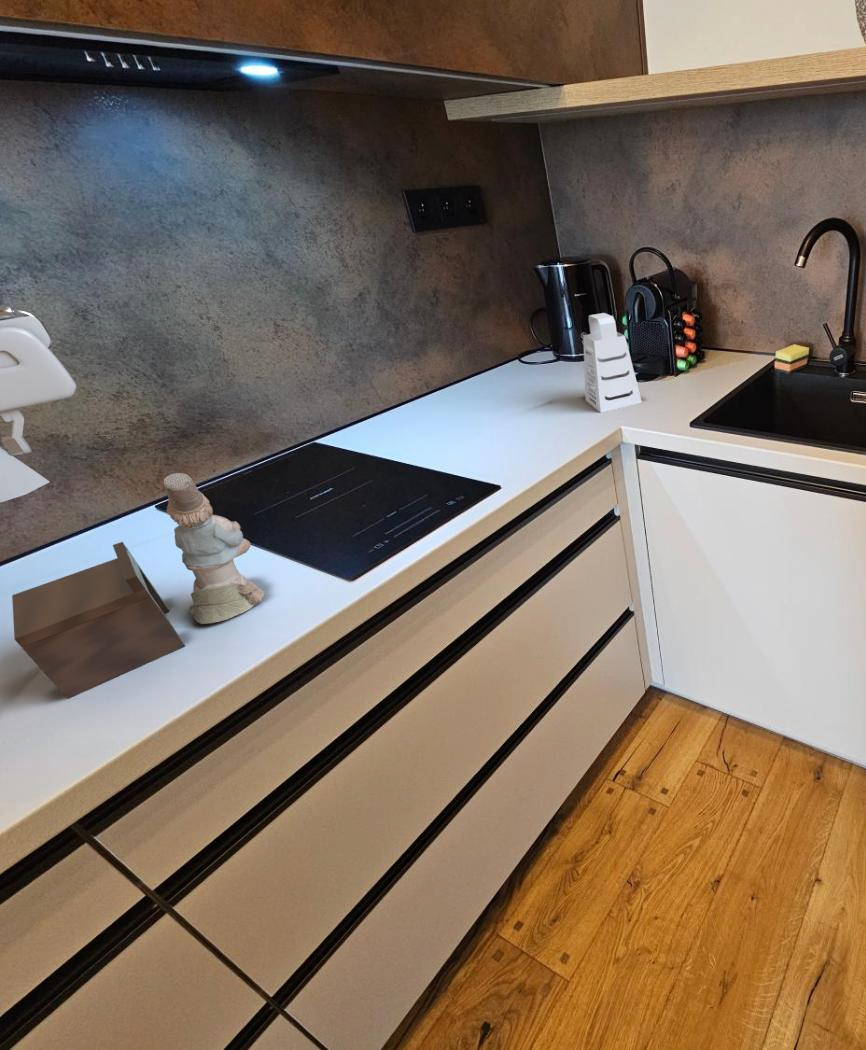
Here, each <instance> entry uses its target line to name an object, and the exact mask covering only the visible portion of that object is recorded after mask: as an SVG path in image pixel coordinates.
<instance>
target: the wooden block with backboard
mask: <svg viewBox="0 0 866 1050" xmlns="http://www.w3.org/2000/svg"><path fill="white" fill-rule="evenodd" d="M112 548H113V550H114V553H115V555H116V558H114V559H113V558H112V559H110V560H108V561H105V562H103V563H99V564H97V565H94V566H91V567H88V568H86V569H82V570H79V571H76V572H75V573H71V574H68V575H65V576H63V577H59V578H56V579H54V580H52V581H48V582H45V583H42V584H39V585H37V586H33V587H32V588H28V589H25V590H23V591H20V592H17V593H15V594H12V595H11V599H12V600H11V601H12V618H13V621H12V622H13V632H14V633H13V637H14V641H15V642H16V643H17V644H18V645H19V646H20V647H21V648H22V650H23V651H24V652H25V653H26V655H28V657H29V658H30V659H31V660H32V661H33V662H34V663H35V664H36V666H37V667H38V668H39V669H40V670H41V671H42V673H44V674H45V676H46V677H47V678H48V679H49V680H50V681H51V682H52V683H53V684H54V685H55V687H56V688H57V689H58V690H59V691H60V693H62V694H63V696H64V697H65V698H66V699H68V700H69V699H71V698H73V697H75V696H77V695H80V694H82V693H84V692H86V691H89V690H90V689H93V688H95V687H98V686H100V685H102V684H105V683H106V682H108V681H111V680H113V679H116V678H118V677H120V676H122V675H124V674H127V673H129V672H131V671H134V670H135V669H139V668H140V667H142V666H145V665H147V664H149V663H151V662H153V661H155V660H157V659H158V660H159V659H160V658H162V657H164V656H167V655H169V654H171V653H173V652H176V651H178V650H180V649H183V648H185V647H186V644H185V641H183V639H182V637H181V636H180V635H179V633H178V632H177V630H176V628H175V627H174V626H173V624H172V623H171V621H170V620H169V619H168V617H167V615H165V614H166V613H168V612H170V608H169V607H168V606H167V604H166V602H165V600H163V598H162V596H161V595H160V594H159V593H158V591H157V589H156V588H155V586H154V585H153V583H152V582H151V581H150V580H149V578H148V576H147V575H146V573H145V572H144V571H143V569H142V567H141V566H140V564H139V563H138V561H136V559H135V557H134V556H133V554H132V553H131V552H130V550H129V549H128V547H127V546H126V544H125V543H124V541H121V542H117V543H115V544H112Z"/></svg>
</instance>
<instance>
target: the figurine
mask: <svg viewBox="0 0 866 1050" xmlns="http://www.w3.org/2000/svg"><path fill="white" fill-rule="evenodd" d="M162 483H163V488H164V491H165V494H166V495H167V498H168V501H167V506H166V514H167V515H169V517H170V518H171V520H172V521H174V523H176V524H177V526H176V527H174V529H173V531H174V543H175V546H176V547H177V548H178V549H180V550H181V551H182V553H181V563H183V564H184V566H185V568H186V569H187V570H188V571H192V574H193V575H194V577H195V579H194V581H193V587H192V588H193V590H192V592H191V593H190V596H191V599H192V603H193V604H191V605H189V606H188V609H189V612H190V613H191V614H193V618H194V620H195V621H196V622H197V623H199V624H201V625H207V624H215V623H220V622H222V621H227V620H229V619H231V618H232V619H233V617H236V616H238V615H241V614H243V613H245V612H247V611H249V610H251V609H252V608H253V607H254V606H256V605H258V603H260V602H262V601H263V598H264V596H265V594H266V592H265V590H263V589H262V588H259V586H258V585H257V584H255V583H254V582H252V581H251V580H249V579H247V578H246V576H245V575H244V574H242V573H240V571H239V569H237V566H236V564H235V561H234V559H235V558H238V557H240V556H242V555H244V554H246V553H247V552H248V551H249V550H250V548H251V546H252V545H251V542H250V541H249V540H248V539H246V538H244V535H243V531H241V525H240V524H239V523H238V522H237V521H235V520H234V521H231V520H229V519H228V518H226V517H224V516H221V515H217V514H213V513H214V511H213V507H212V506H211V504H210V500H209V499H208V498H207V497H206V496H205V495H204V493H202V492H201V491H200V490H199V489H198V487H197V486H196V483H195V482H194V480H193V479H192V478H191V477H190V476H189V475H188V474H186V473H183V472H175V473H171V474H169V475H166V477H165V478H164V479H163V482H162Z"/></svg>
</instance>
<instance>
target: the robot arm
mask: <svg viewBox="0 0 866 1050" xmlns="http://www.w3.org/2000/svg"><path fill="white" fill-rule="evenodd" d="M16 315H20V316H17V317H16ZM52 342H53V341H52V337H51V334H50V333H49V331H48V329H47V327H45V325H44V323H43V322H42V320H40V318H38V317H37V316H36V315H34V314H32V313H31V312H28V311H26V310H25V311H23V310H20V309H12V308H11V307H10V306H0V417H1V418H2V420H3V421H4V422H6V423H10V422H12V425H11V426H12V427H11V434H9V435H7V436H2V437H0V440H1V443H2V445H3V446H4V447H5V449H8V450H7V452H8V453H9V454H11V455H12V456H13V457H16V456H21V455H24V454H29V453H32V448H31V446H30V445H29V444H28V442H27V441H26V439H25V438H24V436H23V433H24V425H25V413H23V412H22V410H21V408H25V407H29V406H35V405H40V404H45V403H50V402H53V401H58V400H63V399H68V398H72V397H73V396H74V395H75V393H76V390H77V388H78V387H77V383H76V382H75V380H74V379H73V378H72V375H71V374H70V373H69V372H68V370H67V369H66V367H65V366H64V365H63V363H61V361H60V360H59V359H58V357H57V356H56V355H55V354H54V352H52V351H51V349H50V348H51V347H52Z"/></svg>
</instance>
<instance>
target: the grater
mask: <svg viewBox="0 0 866 1050" xmlns="http://www.w3.org/2000/svg"><path fill="white" fill-rule="evenodd" d="M616 324H617V323H616V320H615V317H614V316H612V315H610V314H608V313H606V312H601V313H596V314H590V315H588V325H589V332H590V333H589V334H583V336H582V338H583V342H582V343H583V365H584V366H583V367H584V390H585V391H584V392H585V393H584V394H585V401H586V402H587V403H588V404H589V405H590V406H591V407H593V408H594V409H595V410H596V411H598V412H599V413H600V414H601V413H602V414H603V413H605V412H610V411H615V410H618V409H623V408H626V407H627V408H628V407H630V406H635V405H639V404H643V401H642V397H641V393H640V389H639V385H638V381H637V378H636V374H635V370H634V367H633V362H632V358H631V354H630V351H629V347H628V343H627V339H626V335H625V334H623V333H620V332H618V331H617V325H616ZM625 394H628V396H624V397H619V398H614V399H611V400H610V398H613V397H618V396H623V395H625ZM606 398H609V399H606Z"/></svg>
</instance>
